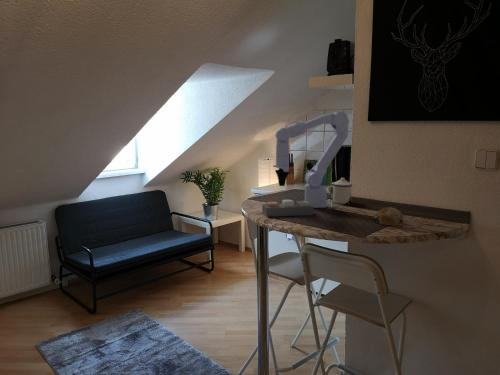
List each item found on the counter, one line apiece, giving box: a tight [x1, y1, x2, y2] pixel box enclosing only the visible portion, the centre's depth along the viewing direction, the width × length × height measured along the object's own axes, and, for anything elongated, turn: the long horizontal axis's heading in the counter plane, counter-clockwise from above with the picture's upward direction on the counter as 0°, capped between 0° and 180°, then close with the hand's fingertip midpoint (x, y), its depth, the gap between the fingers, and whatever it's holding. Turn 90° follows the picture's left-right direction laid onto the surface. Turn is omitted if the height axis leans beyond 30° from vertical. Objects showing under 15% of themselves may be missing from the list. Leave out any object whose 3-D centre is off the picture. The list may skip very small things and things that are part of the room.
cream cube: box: [281, 199, 295, 207], centre depth 172 cm, size 4×4×4 cm
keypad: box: [261, 202, 315, 217], centre depth 172 cm, size 20×8×4 cm, turn 100°
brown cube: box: [266, 201, 279, 207], centre depth 171 cm, size 4×4×4 cm
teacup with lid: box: [327, 177, 353, 205], centre depth 197 cm, size 12×9×12 cm
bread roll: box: [373, 206, 404, 227], centre depth 158 cm, size 10×10×8 cm
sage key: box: [296, 200, 309, 206], centre depth 173 cm, size 4×4×4 cm
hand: (281, 185), depth 185 cm, fingers closed
